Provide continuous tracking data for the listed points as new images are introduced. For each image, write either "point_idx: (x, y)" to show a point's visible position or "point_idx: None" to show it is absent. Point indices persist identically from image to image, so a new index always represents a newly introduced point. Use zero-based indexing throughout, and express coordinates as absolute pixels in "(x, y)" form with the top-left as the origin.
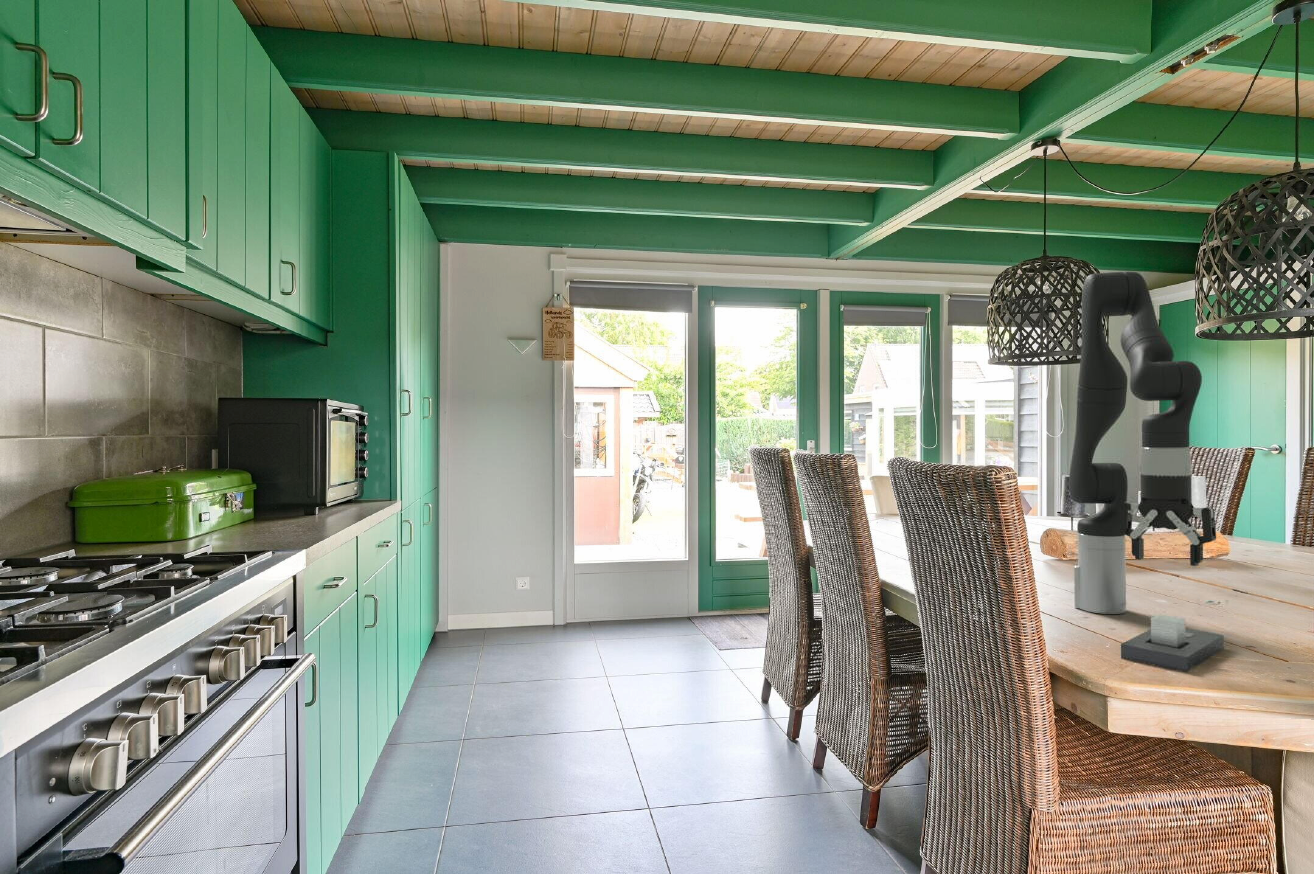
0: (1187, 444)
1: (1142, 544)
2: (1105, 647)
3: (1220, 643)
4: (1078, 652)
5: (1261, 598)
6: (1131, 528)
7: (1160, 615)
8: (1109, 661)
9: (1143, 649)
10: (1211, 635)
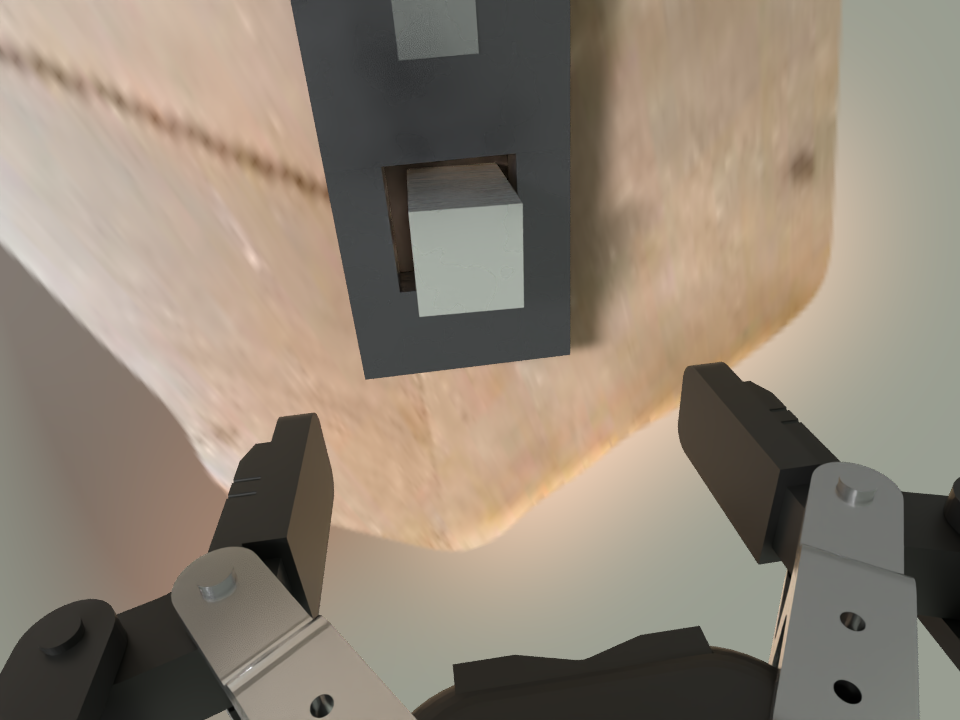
0: None
1: (302, 515)
2: (260, 279)
3: None
4: (256, 404)
5: None
6: (104, 654)
7: (423, 235)
8: (368, 412)
9: (439, 368)
10: None
